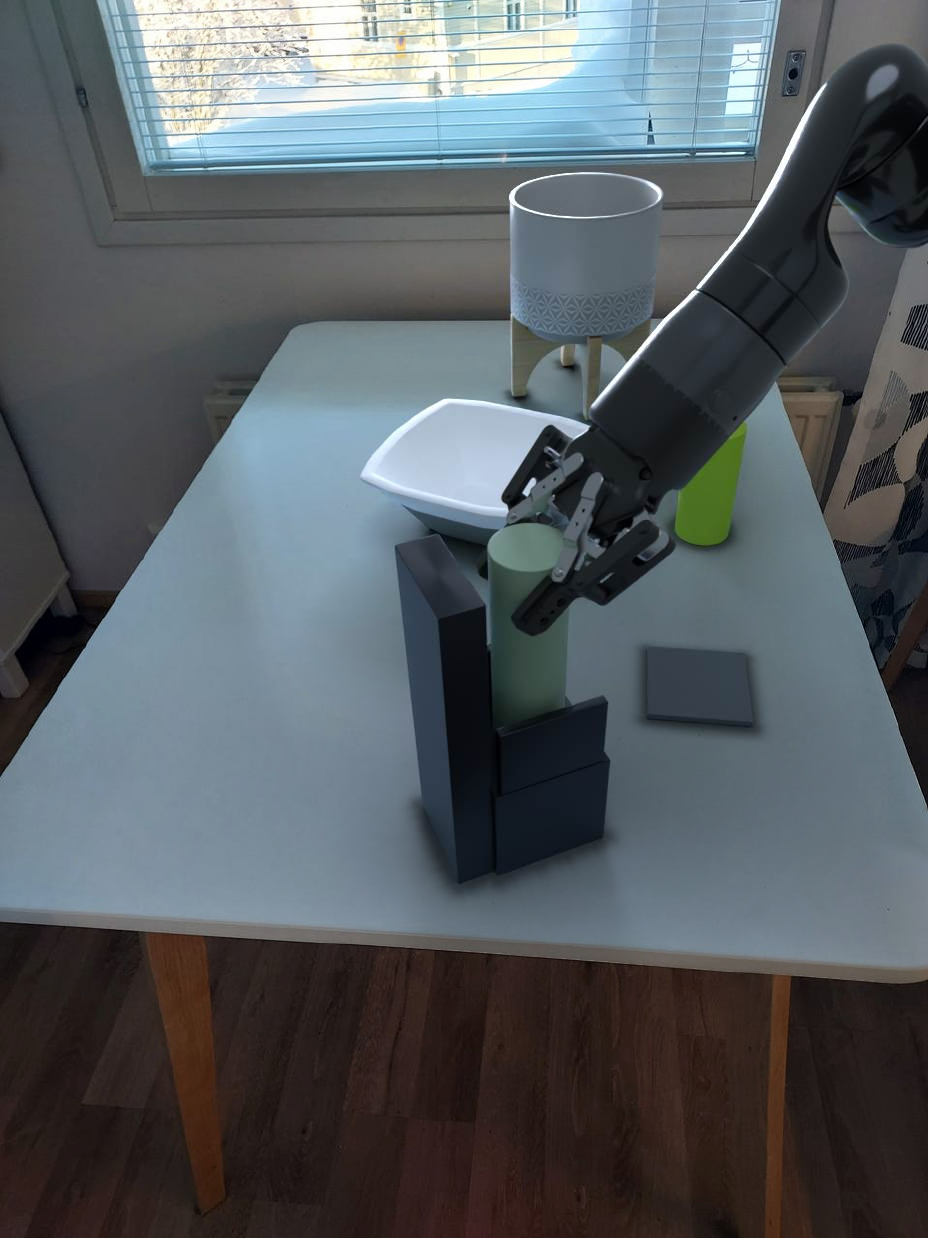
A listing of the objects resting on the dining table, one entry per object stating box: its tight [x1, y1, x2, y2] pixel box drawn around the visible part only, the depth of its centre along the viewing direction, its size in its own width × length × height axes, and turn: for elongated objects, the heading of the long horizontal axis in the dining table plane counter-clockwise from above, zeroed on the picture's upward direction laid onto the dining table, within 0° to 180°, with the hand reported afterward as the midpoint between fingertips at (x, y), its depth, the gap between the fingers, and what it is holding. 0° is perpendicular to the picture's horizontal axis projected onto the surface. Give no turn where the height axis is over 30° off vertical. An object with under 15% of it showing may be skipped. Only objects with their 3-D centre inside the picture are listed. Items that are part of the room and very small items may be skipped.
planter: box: [509, 172, 665, 421], centre depth 123 cm, size 19×19×26 cm
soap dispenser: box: [674, 421, 748, 546], centre depth 97 cm, size 6×7×20 cm
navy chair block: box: [394, 533, 611, 884], centre depth 66 cm, size 12×9×26 cm
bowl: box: [359, 398, 591, 546], centre depth 105 cm, size 22×23×8 cm
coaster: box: [646, 646, 754, 727], centre depth 84 cm, size 9×9×1 cm
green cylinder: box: [486, 523, 570, 734], centre depth 63 cm, size 5×5×16 cm
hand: (503, 601), depth 60 cm, fingers closed on green cylinder, 5 cm apart
